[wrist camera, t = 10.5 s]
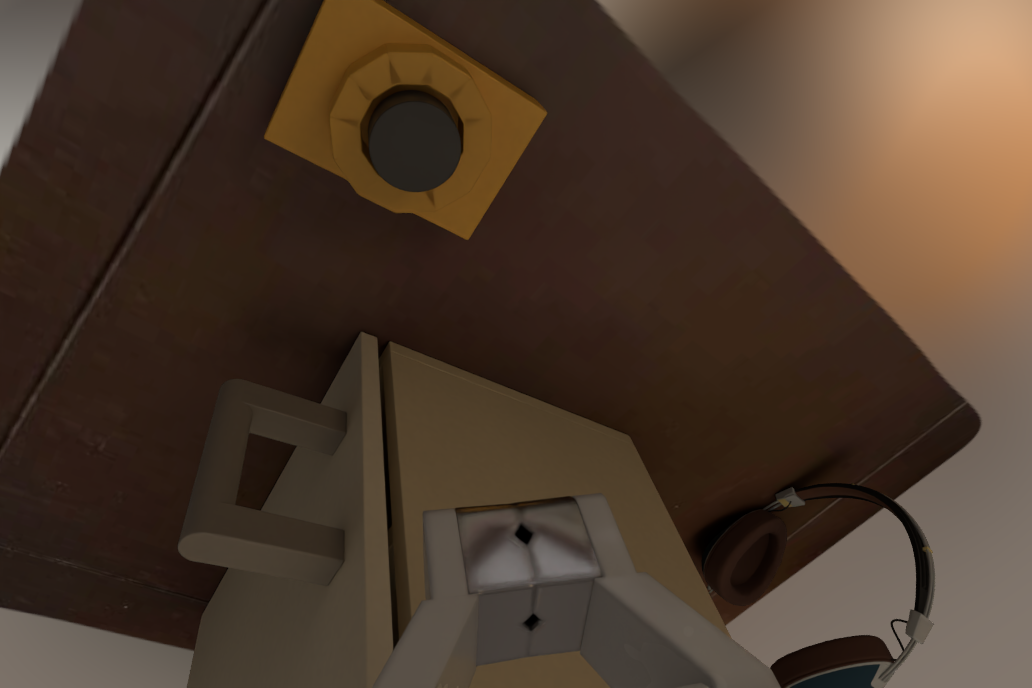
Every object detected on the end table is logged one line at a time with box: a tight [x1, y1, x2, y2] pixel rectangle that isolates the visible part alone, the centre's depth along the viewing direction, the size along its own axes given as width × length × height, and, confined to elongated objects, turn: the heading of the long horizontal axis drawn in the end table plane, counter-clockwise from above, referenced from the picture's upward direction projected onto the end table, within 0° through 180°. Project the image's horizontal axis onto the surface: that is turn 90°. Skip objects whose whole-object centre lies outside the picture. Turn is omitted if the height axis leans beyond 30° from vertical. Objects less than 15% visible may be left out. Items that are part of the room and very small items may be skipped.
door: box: [178, 332, 393, 688], centre depth 30 cm, size 7×26×24 cm, turn 148°
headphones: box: [702, 483, 935, 688], centre depth 47 cm, size 6×15×22 cm
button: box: [368, 90, 461, 192], centre depth 26 cm, size 4×4×2 cm
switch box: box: [264, 0, 547, 240], centre depth 28 cm, size 10×7×4 cm
